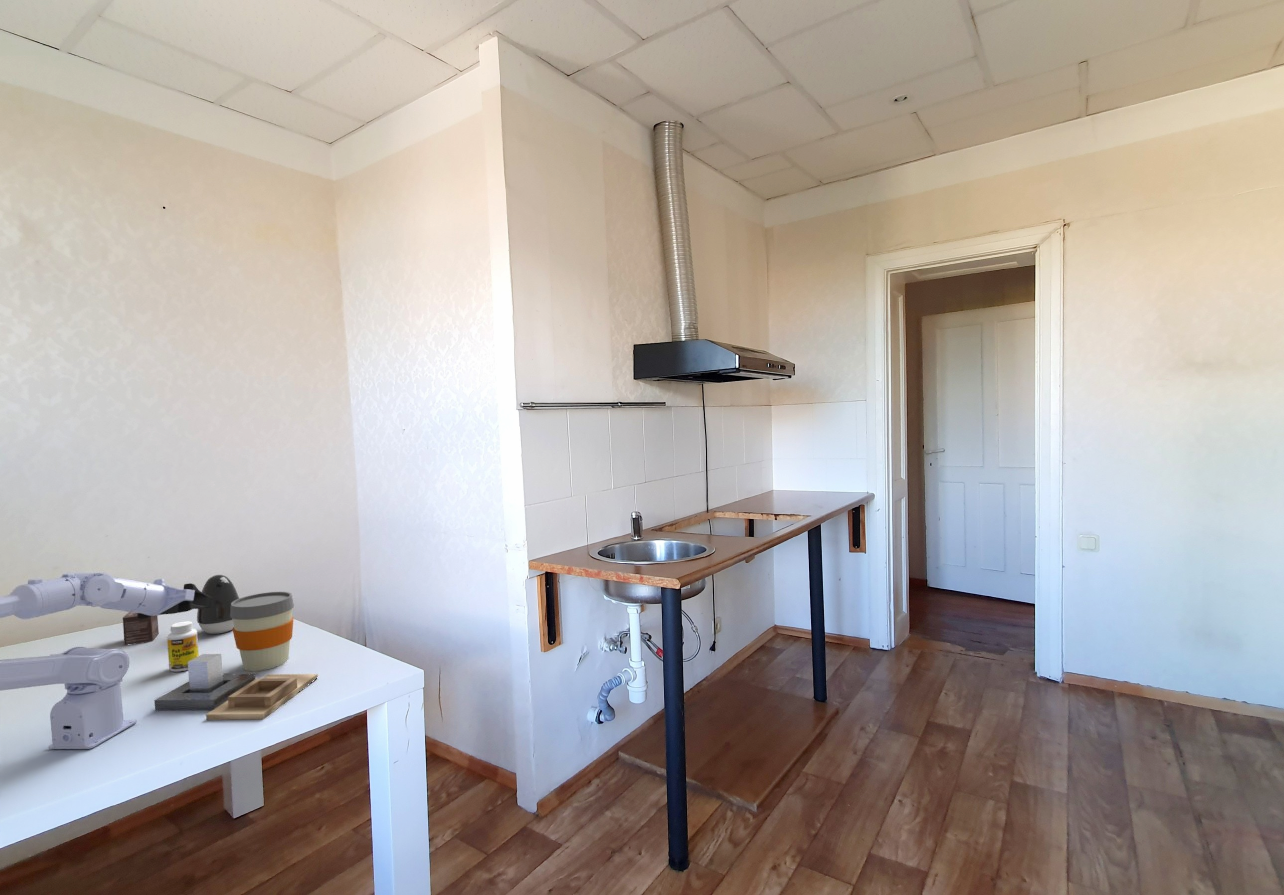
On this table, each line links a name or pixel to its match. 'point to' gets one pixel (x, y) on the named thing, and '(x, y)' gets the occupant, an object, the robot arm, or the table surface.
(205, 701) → the socket
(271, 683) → the rack board
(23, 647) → the table surface
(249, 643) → the reusable coffee cup
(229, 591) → the dark grey tall dome
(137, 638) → the box
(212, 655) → the brushed metal block
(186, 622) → the supplement bottle
